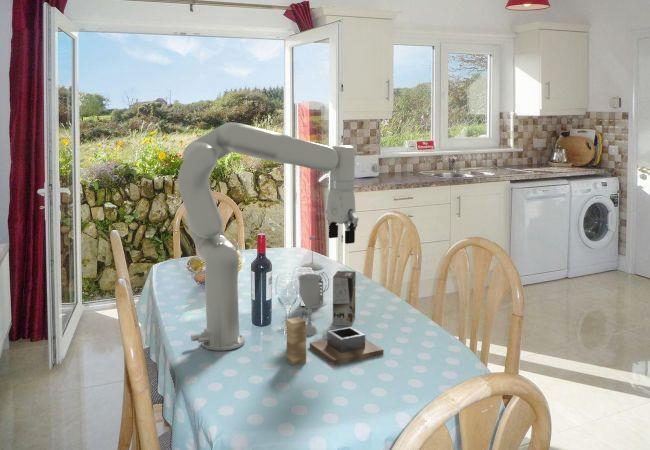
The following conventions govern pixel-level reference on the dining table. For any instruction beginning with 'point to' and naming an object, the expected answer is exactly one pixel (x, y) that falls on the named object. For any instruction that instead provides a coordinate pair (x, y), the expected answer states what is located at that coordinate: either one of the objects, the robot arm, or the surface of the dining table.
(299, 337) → the rail post
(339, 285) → the coffee box
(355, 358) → the board
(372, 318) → the dining table surface
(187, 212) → the robot arm
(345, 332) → the grey square socket
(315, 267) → the french press
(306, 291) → the chalice
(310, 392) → the dining table surface
